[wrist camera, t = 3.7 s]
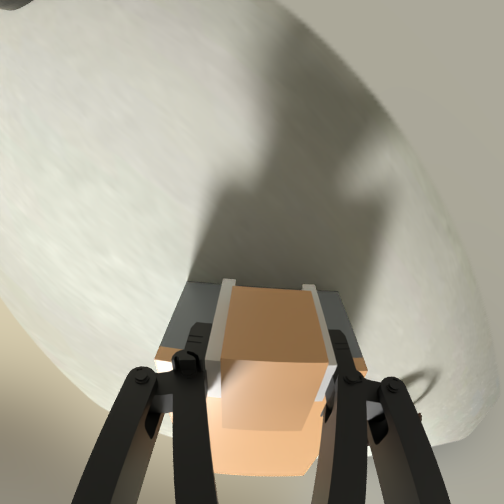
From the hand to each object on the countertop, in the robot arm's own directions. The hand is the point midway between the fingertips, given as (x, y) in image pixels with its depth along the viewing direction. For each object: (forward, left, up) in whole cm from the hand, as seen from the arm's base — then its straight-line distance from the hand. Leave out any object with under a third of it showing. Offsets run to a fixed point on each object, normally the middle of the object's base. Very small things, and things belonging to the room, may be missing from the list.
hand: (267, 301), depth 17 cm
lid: (+10, 0, +1) cm, 10 cm away
